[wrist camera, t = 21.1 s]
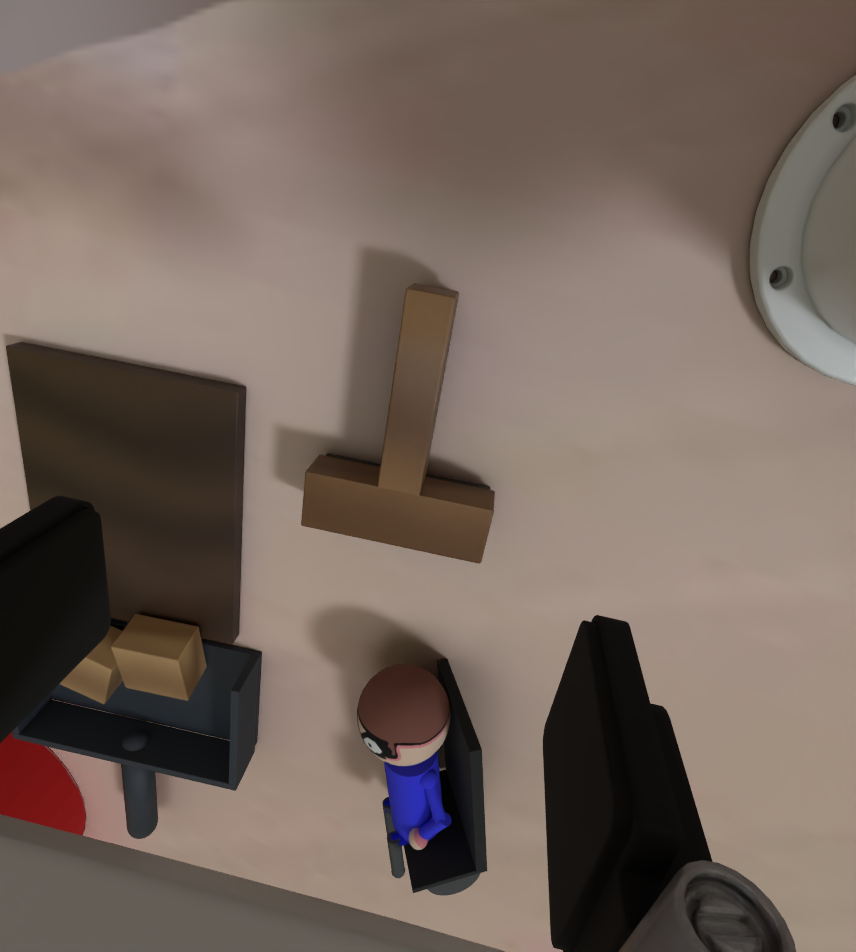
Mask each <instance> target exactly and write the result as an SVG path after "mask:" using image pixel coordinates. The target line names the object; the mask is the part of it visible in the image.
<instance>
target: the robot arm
mask: <svg viewBox="0 0 856 952" xmlns="http://www.w3.org/2000/svg"><path fill="white" fill-rule="evenodd" d="M834 114H837V115H839V118H840V122H839V124H838V126H837V127H836V128H835V129H834V126H833V124H832V121H833V115H834ZM774 270H777V272H778V277H777V279H776V280H775V281H773V282H772V283H770V282H769V279H770V275H771V274H772V272H773V271H774ZM750 278H751V283H752V287H753V292H754V297H755V301H756V305H757V307H758V309H759V311H760V313H761V315H762V318H763V320H764V322H765V324H766V326H767V328H768V329H769V331H770V332H771V333H772V334H773V336H774V337H775V338H776V340H777V341H778V342H779V343H780V345H781V346H782V347H783V348H784V349H785V350H786V351H787V352H789V353H790V354H791V355H793V356H794V357H795V358H796V359H798V360H799V361H800V362H802V363H803V364H804V365H806V366H808V367H810V368H812V369H814V370H816V371H818V372H820V373H821V374H823V375H825V376H828V377H831V378H834V379H837V380H840V381H842V382H845V383H848V384H851V385H856V75H855V76H853V77H852V78H850V79H849V80H848V81H846V82H845V83H843V84H842V85H841V86H840V87H839V88H838V89H837V90H836V91H835V92H834V93H833V94H832V95H831V96H830V97H829V98H827V99H826V100H825V101H824V102H823V103H822V104H821V105H820V106H819V107H818V108H817V109H816V110H815V111H814V112H813V113H812V114H811V115H810V117H809V118H808V119H807V120H806V122H805V123H804V124H803V126H802V127H801V128H800V129H799V131H798V132H797V133H796V135H795V136H794V137H793V138H792V140H791V141H790V142H789V144H788V145H787V146H786V148H785V150H784V152H783V154H782V155H781V157H780V159H779V161H778V163H777V164H776V166H775V168H774V170H773V171H772V173H771V175H770V177H769V179H768V181H767V184H766V186H765V189H764V192H763V195H762V197H761V200H760V203H759V205H758V208H757V211H756V214H755V220H754V225H753V231H752V236H751V242H750ZM110 625H111V614H110V604H109V594H108V584H107V574H106V564H105V553H104V543H103V533H102V523H101V517H100V514H99V513H98V512H96V511H95V509H94V507H93V505H92V504H91V503H89V502H87V501H83V500H79V499H74V498H70V497H65V496H55V497H53V498H51V499H49V500H48V501H46V502H44V503H43V504H41V505H39V506H37V507H36V508H34V509H32V510H31V511H29V512H27V513H26V514H24V515H22V516H21V517H19V518H17V519H16V520H14V521H12V522H11V523H9V524H7V525H6V526H4V527H2V528H1V529H0V743H1V742H2V741H3V740H4V739H5V738H6V737H7V736H8V735H9V734H10V733H11V732H12V731H13V730H14V729H15V728H16V727H17V726H18V725H19V724H20V723H21V722H22V721H23V720H24V719H25V718H26V717H27V716H28V715H29V714H30V713H31V712H32V711H33V710H34V709H35V708H36V707H37V706H38V705H39V704H40V703H41V702H42V701H43V700H44V699H45V698H46V697H47V696H48V695H49V694H50V693H51V692H52V691H53V690H54V689H55V688H56V687H57V686H58V685H59V684H60V683H61V682H62V681H63V680H64V679H65V678H66V677H67V676H68V675H69V673H70V672H71V671H72V670H73V669H74V668H75V667H76V666H77V665H78V664H79V663H80V662H81V661H82V660H83V659H84V658H85V657H86V656H87V655H88V654H89V653H90V652H91V651H92V650H93V649H94V648H95V647H96V646H97V645H98V644H99V643H100V642H101V641H102V640H103V639H104V638H105V636H106V635H107V633H108V631H109V628H110ZM543 759H544V783H545V807H546V832H547V856H548V880H549V904H550V928H551V941H552V945H553V947H554V948H557V949H560V950H563V952H796V949H795V943H794V940H793V938H792V936H791V933H790V931H789V929H788V927H787V924H786V922H785V920H784V919H783V917H782V916H781V914H780V913H779V912H778V910H777V909H776V907H775V906H774V904H773V903H772V902H771V900H770V899H769V898H768V897H767V896H766V895H765V894H764V893H763V892H762V891H761V890H760V889H759V888H758V887H757V886H756V885H755V884H754V883H752V882H751V881H750V880H748V879H747V878H745V877H744V876H743V875H741V874H740V873H738V872H737V871H735V870H733V869H731V868H729V867H726V866H724V865H722V864H720V863H716V862H712V859H711V855H710V852H709V849H708V845H707V842H706V838H705V835H704V832H703V828H702V825H701V822H700V818H699V815H698V812H697V808H696V805H695V801H694V798H693V795H692V791H691V788H690V785H689V781H688V778H687V774H686V771H685V768H684V764H683V761H682V758H681V754H680V751H679V748H678V744H677V741H676V737H675V734H674V731H673V727H672V724H671V721H670V718H669V715H668V713H667V711H666V710H665V708H664V707H663V706H659V705H655V704H650V701H649V697H648V693H647V690H646V686H645V682H644V678H643V675H642V671H641V667H640V663H639V659H638V656H637V652H636V648H635V644H634V641H633V637H632V633H631V629H630V626H629V624H628V623H627V622H625V621H621V620H617V619H612V618H608V617H603V616H599V615H596V616H594V618H593V619H592V622H589V621H582V623H581V625H580V627H579V630H578V633H577V636H576V638H575V641H574V644H573V647H572V650H571V653H570V656H569V658H568V661H567V664H566V667H565V670H564V673H563V675H562V678H561V681H560V684H559V687H558V690H557V693H556V695H555V698H554V701H553V704H552V707H551V710H550V712H549V715H548V718H547V721H546V724H545V729H544V735H543ZM0 952H505V951H502V950H499V949H496V948H492V947H489V946H485V945H482V944H478V943H475V942H471V941H468V940H465V939H461V938H458V937H454V936H451V935H447V934H444V933H440V932H437V931H434V930H430V929H427V928H423V927H420V926H416V925H413V924H409V923H406V922H403V921H399V920H396V919H392V918H389V917H385V916H381V915H377V914H374V913H370V912H366V911H363V910H359V909H355V908H352V907H348V906H344V905H340V904H337V903H333V902H329V901H326V900H322V899H318V898H315V897H311V896H307V895H303V894H300V893H296V892H292V891H289V890H285V889H281V888H277V887H274V886H270V885H266V884H263V883H259V882H255V881H252V880H248V879H244V878H240V877H237V876H233V875H229V874H226V873H222V872H218V871H214V870H210V869H207V868H203V867H199V866H195V865H192V864H188V863H184V862H180V861H176V860H173V859H169V858H165V857H161V856H158V855H154V854H150V853H146V852H142V851H139V850H135V849H131V848H127V847H123V846H120V845H116V844H112V843H108V842H104V841H101V840H97V839H93V838H89V837H85V836H82V835H78V834H74V833H70V832H66V831H63V830H59V829H55V828H51V827H47V826H43V825H40V824H36V823H32V822H28V821H24V820H20V819H16V818H12V817H9V816H5V815H1V814H0Z"/></svg>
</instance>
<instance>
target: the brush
mask: <svg viewBox="0 0 856 952" xmlns="http://www.w3.org/2000/svg"><path fill="white" fill-rule="evenodd" d="M458 296H459V292H457V291H452V290H447V289H442V288H436V287H431V286H426V285H421V284H413V285H411V286H410V287H408V288H407V289H406V294H405V301H404V308H403V315H402V322H401V328H400V335H399V342H398V349H397V356H396V363H395V370H394V377H393V383H392V390H391V397H390V404H389V411H388V418H387V425H386V432H385V439H384V445H383V452H382V459H381V464H378V463H373V462H368V461H363V460H358V459H354V458H349V457H344V456H339V455H334V454H329V453H327V454H326V456H324V455H319V456H318V457H317V458H316V460H315V461H314V462H313V463H312V464H311V466H310V467H309V468H308V469H307V471H306V473H305V485H304V497H303V509H302V521H301V525H302V526H306V527H311V528H316V529H320V530H325V531H330V532H334V533H339V534H344V535H348V536H353V537H358V538H362V539H367V540H372V541H376V542H381V543H386V544H390V545H395V546H400V547H404V548H409V549H414V550H418V551H423V552H428V553H432V554H437V555H442V556H447V557H451V558H456V559H461V560H465V561H470V562H475V563H481V561H482V557H483V553H484V549H485V545H486V541H487V537H488V533H489V528H490V524H491V520H492V516H493V512H494V495H495V492H494V491H492V490H490V487H489V486H484V485H479V484H474V483H469V482H464V481H460V480H455V479H450V478H445V477H440V476H435V475H431V474H426V471H427V465H428V460H429V454H430V449H431V443H432V438H433V432H434V427H435V421H436V416H437V411H438V405H439V400H440V394H441V389H442V383H443V378H444V372H445V367H446V361H447V356H448V351H449V345H450V340H451V334H452V329H453V323H454V318H455V312H456V307H457V301H458Z"/></svg>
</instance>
